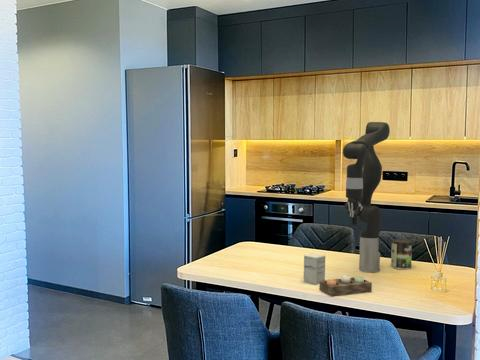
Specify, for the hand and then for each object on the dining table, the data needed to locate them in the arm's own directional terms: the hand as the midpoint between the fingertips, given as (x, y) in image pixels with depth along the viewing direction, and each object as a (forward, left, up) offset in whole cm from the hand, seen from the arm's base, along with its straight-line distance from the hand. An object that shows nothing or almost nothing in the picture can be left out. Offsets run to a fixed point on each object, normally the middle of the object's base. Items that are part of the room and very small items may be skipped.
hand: (353, 225), depth 219 cm
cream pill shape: (+10, +10, -24) cm, 27 cm away
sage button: (+3, +10, -25) cm, 27 cm away
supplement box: (+16, -7, -27) cm, 32 cm away
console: (+10, +10, -27) cm, 30 cm away
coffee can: (-40, -16, -27) cm, 51 cm away
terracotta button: (+17, +10, -25) cm, 32 cm away
